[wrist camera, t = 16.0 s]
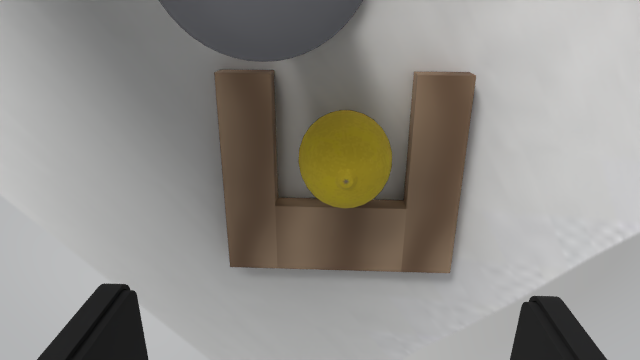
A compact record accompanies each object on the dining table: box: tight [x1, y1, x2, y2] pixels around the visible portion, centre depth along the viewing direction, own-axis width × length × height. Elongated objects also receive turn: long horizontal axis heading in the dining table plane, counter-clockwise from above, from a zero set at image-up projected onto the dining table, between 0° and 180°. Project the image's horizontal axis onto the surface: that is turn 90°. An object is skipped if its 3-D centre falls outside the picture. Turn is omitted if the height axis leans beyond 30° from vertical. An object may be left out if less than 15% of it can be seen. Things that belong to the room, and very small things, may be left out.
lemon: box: [299, 110, 392, 208], centre depth 26 cm, size 6×6×8 cm
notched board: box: [214, 70, 476, 273], centre depth 30 cm, size 16×14×2 cm
